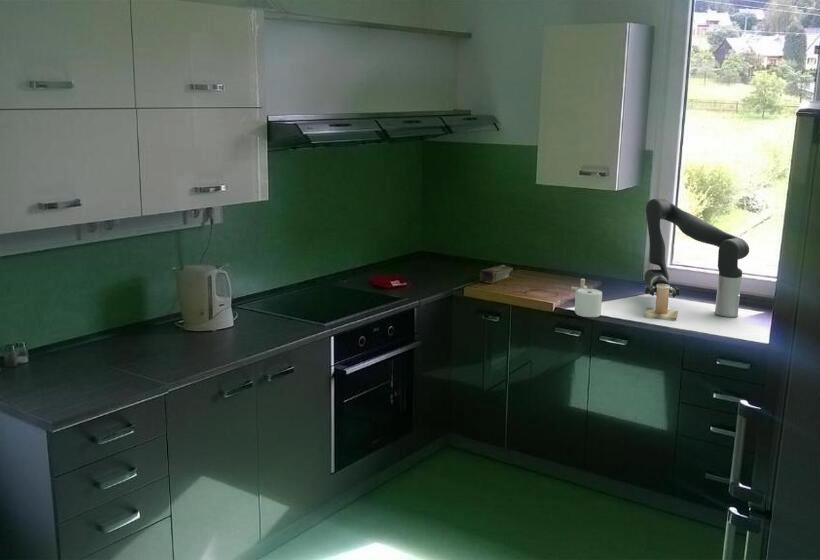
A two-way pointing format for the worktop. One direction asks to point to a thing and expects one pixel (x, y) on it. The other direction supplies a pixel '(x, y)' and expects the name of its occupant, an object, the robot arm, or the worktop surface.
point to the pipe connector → (580, 286)
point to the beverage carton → (496, 273)
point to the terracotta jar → (662, 298)
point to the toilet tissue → (588, 302)
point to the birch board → (652, 314)
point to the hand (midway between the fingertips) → (663, 294)
